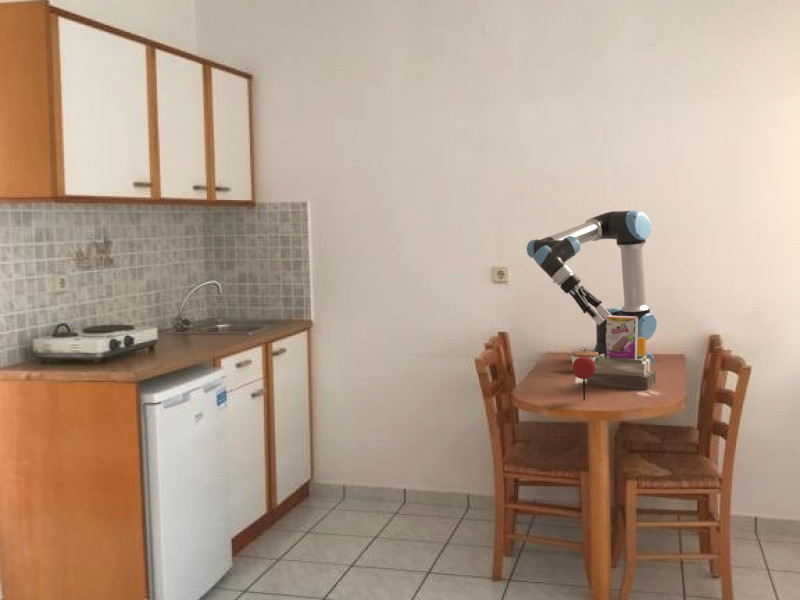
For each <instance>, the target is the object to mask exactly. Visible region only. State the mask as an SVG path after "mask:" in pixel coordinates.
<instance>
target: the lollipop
mask: <svg viewBox="0 0 800 600" xmlns="http://www.w3.org/2000/svg"><path fill="white" fill-rule="evenodd" d="M571 370H572V373H573V375H574V376H575V377H577V378H578V379H580V380H583V381H582V383H583V384H582V386H583V388H582V390H583V391H582V393H583V401H586V382H585V381H586V380H587V379H588V378H591V377H592V376H593V375H594V373H595V363H594V361H593V360H592V359H590V358H588V357H579V358H577V359H576V360H575V361H574V363H572V369H571Z"/></svg>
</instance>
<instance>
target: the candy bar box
mask: <svg viewBox="0 0 800 600" xmlns="http://www.w3.org/2000/svg"><path fill="white" fill-rule="evenodd" d="M637 342H638V317H632V316H610V315H609V316H607V317H606V345H605V358H616V359H635V360H637Z"/></svg>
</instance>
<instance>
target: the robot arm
mask: <svg viewBox="0 0 800 600" xmlns="http://www.w3.org/2000/svg"><path fill="white" fill-rule="evenodd" d="M650 220H651V219H650V218H649V217H648V216H647V215H646V213H644V212H643V211H637V210H621V211H620V210H619V211H613V210H612V211H608V212H605V213H601V214H599V215H596V216H593V217H591V218H588V219H587V220H585V222H584V223H582V224H579V225H577V226H573V227H571V228H568V229H566V230H563V231H560V232H557V233H556V234H553V235H552V234H551V235H549V236H546V237H543V238H541V239H537V238H536V239H531V240H530V241H529V242H528V243H527V244H526V253H527V255H528V257H529V258H531V259H533V261H535V262H536V264H537V265H538V266H539V267H540V269H542V271H544V273H546V274H547V275H548V277H550V279H552V283H554V284H556V285H557V286H560V289H561V290H562V291H563V292H564V293H565V294H569V295H570V296H571V297H572V299H574V301H575V302H576V304H577V305H578V306H579V308H580V310H582V313H583V314H587V315H589V316H590V317H591V319H592V320H594V322H595V325H596V327H595V328H596V329H595V330H596V344H595V347H594V349H593V351H595V352H598V353H599V355H601V354H605V345H606V317H607V316H609V315H610V316H632V317H638V337H645V338H646V341H648V340H650V339H651V338H652V337H653V336H654V334H655V332H656V329H657V324H658V323H657V318H656V316H655V315H654V314H653V313H651V309H650V306H649V305H647V304H646V289H645V273H644V272H645V270H644V257H643V256H644V254H643V246H644V245H645V244H646V239H648V238H649V236H650V234H651V231H652V224H651V221H650ZM599 240H616V246H617V247H618V248H620V256H621V257H620V258H621V272H622V273H621V274H622V288H623V302H624V303H623V304H624V305H623V306H622V307H612V308H611V307H610V308H605V306H604V305H602V303H603V302H602V301H601V300H599V298H597V297H596V296H594V295H593V294H592V293H591V292H590V291H589V290H587V289H586V288H585V287H584V285H579V284H580V283H581V279H580V277H578V275H576V273H574V271H573V270H572V269H571V268H570V267H569V266H568V265H567V264H566V263H565V262H567V261H568V260H570V259H572V258H573V257H575V256H576V255H577V254H578V253H579V252H580V250H581V245H582V244H585V243H587V242H590V241H593V242H597V241H599ZM591 306H592V307H591ZM599 355H598V356H599Z"/></svg>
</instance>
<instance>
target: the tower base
mask: <svg viewBox="0 0 800 600" xmlns="http://www.w3.org/2000/svg"><path fill="white" fill-rule="evenodd" d="M651 359H652V358H648V357H647V356H638V355H637V360H635V359H616V358H605V354H601V355H599V356H598V357H596V358H595V360H593V361H594V363H595V373H594V375H593V376H592V377H591V378H588V379H586V386H587V387H589V386H590V387H603V388H618V389H620V388H621V389H632V390H633V389H634V390H646V391H647V390H648V389H649V388H650V387H652V386H653V385H654V384H655V383H656V370H655V369H652V368H651V367H652V365H651Z"/></svg>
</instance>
